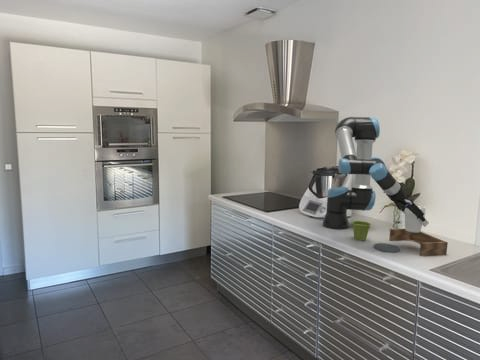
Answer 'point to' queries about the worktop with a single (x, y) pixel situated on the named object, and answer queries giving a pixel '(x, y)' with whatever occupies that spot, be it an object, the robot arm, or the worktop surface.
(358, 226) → the plant pot
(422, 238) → the u-shaped wooden rail
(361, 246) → the worktop surface
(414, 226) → the cup
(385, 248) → the disc
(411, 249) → the worktop surface
